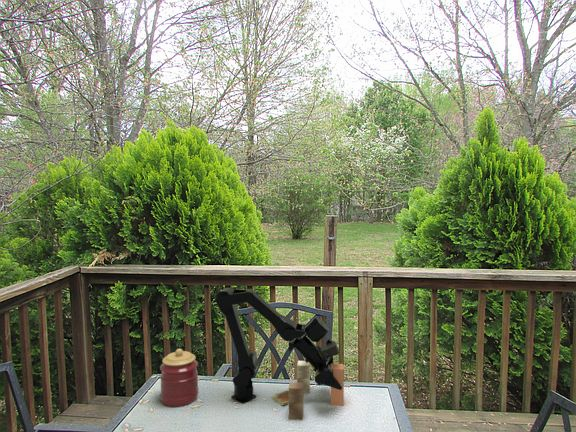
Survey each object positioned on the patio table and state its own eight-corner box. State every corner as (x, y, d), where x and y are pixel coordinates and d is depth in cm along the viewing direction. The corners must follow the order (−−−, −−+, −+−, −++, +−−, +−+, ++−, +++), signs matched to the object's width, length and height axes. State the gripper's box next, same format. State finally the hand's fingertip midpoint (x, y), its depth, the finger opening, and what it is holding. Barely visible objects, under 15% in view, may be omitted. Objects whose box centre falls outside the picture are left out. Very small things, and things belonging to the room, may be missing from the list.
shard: (296, 391, 144) (296, 386, 144) (309, 399, 138) (309, 394, 138) (271, 400, 138) (271, 395, 137) (284, 409, 131) (284, 403, 131)
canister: (192, 407, 132) (192, 356, 131) (154, 407, 132) (154, 355, 132) (202, 389, 145) (201, 342, 144) (167, 389, 145) (167, 342, 145)
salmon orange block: (330, 405, 133) (330, 368, 133) (330, 398, 137) (330, 363, 137) (343, 405, 132) (343, 369, 132) (343, 399, 137) (343, 364, 136)
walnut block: (288, 419, 124) (288, 388, 124) (290, 412, 129) (290, 382, 128) (302, 420, 124) (302, 388, 123) (303, 412, 128) (303, 382, 128)
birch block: (297, 392, 142) (297, 365, 142) (298, 387, 146) (298, 360, 146) (309, 393, 142) (309, 365, 141) (309, 387, 146) (309, 361, 146)
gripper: (325, 344, 125) (359, 379, 124) (325, 326, 144) (356, 357, 143) (300, 367, 127) (335, 402, 126) (304, 347, 145) (334, 377, 144)
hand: (341, 383), depth 135 cm, fingers open, 8 cm apart
